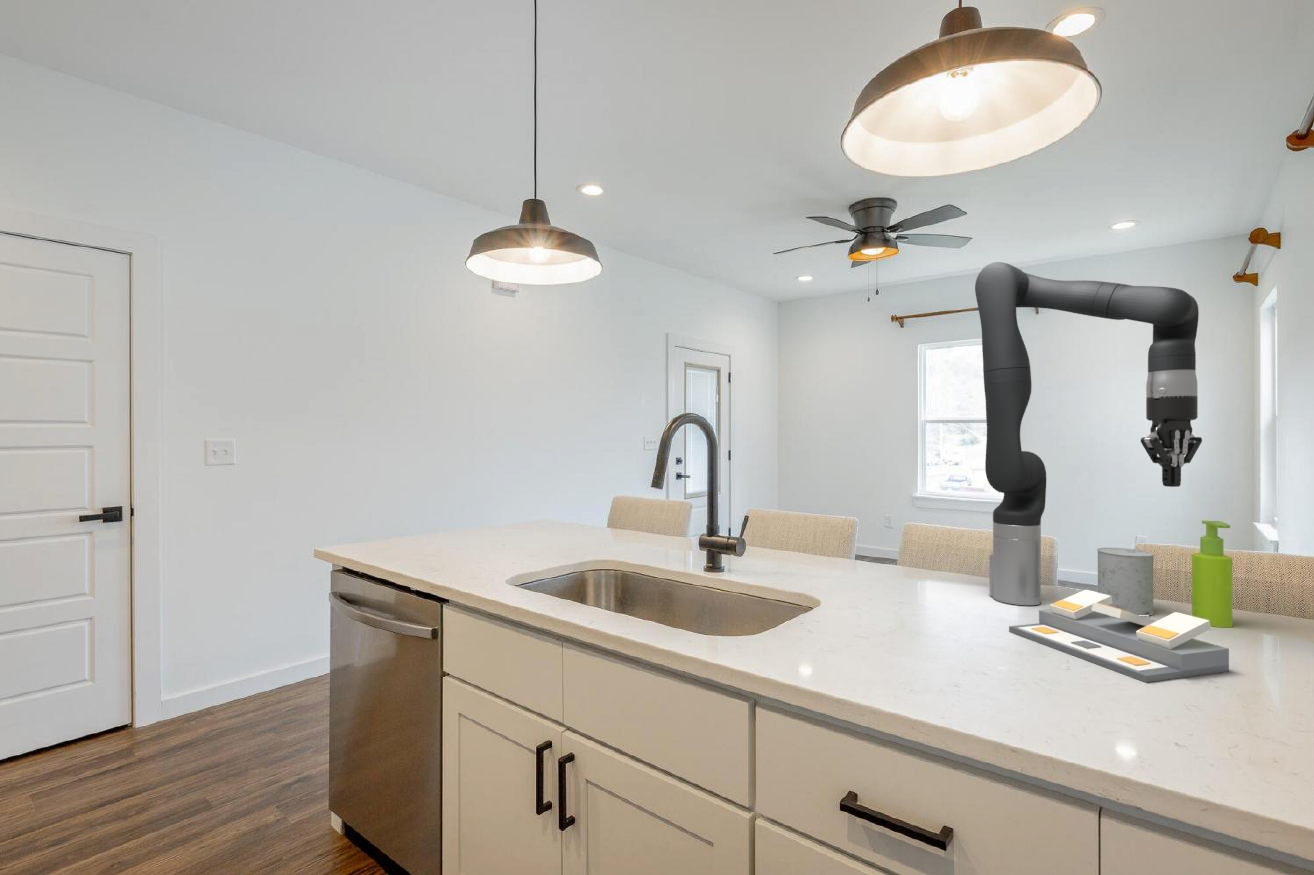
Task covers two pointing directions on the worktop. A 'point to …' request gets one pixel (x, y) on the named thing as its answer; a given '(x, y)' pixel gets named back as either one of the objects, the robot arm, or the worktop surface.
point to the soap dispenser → (1212, 579)
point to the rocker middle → (1121, 614)
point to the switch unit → (1123, 647)
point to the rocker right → (1173, 630)
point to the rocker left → (1079, 604)
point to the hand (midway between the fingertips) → (1171, 486)
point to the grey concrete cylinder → (1127, 578)
